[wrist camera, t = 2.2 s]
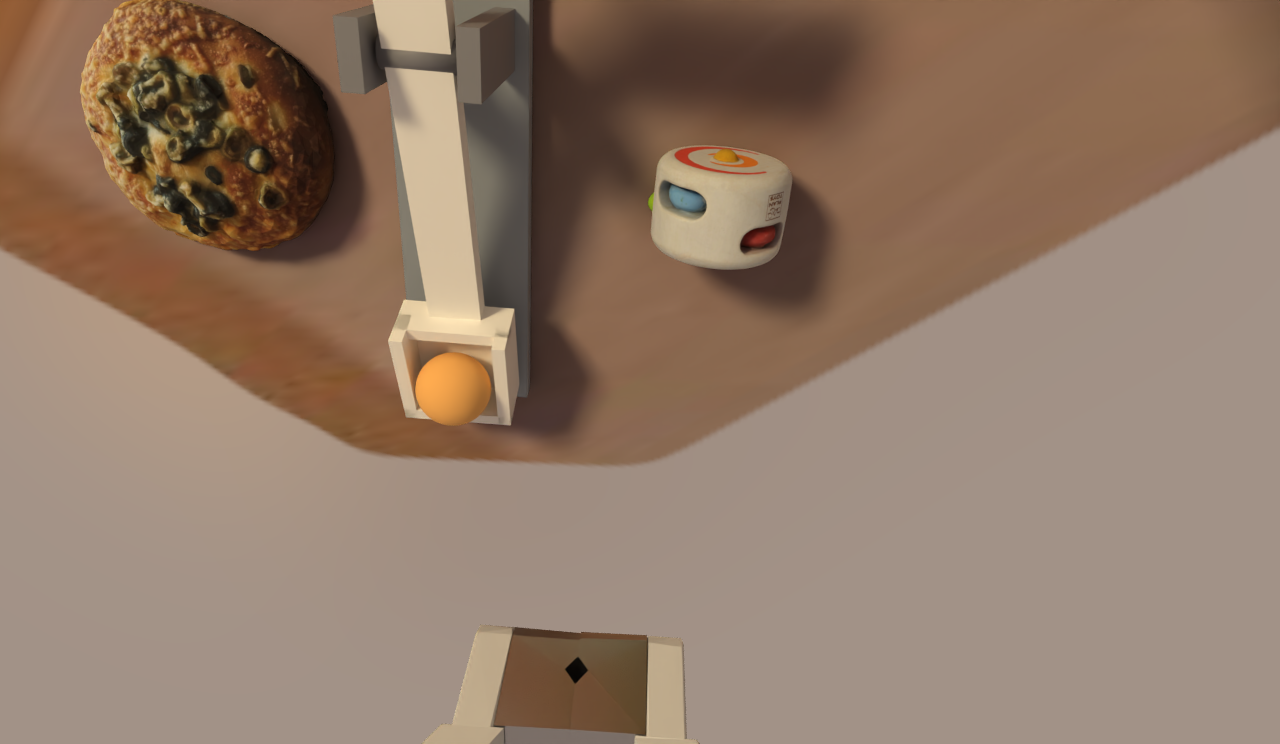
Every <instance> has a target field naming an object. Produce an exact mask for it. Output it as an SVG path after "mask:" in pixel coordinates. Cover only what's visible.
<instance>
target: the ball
mask: <svg viewBox="0 0 1280 744" xmlns="http://www.w3.org/2000/svg"><path fill="white" fill-rule="evenodd" d="M415 391H416V398H417V401H418V404H419V406H420V408H421V409H422V410H423V412H424V413H425V414H426V415H427V416H428V417H429V418H431V419H432V420H434V421H435V422H438V423H440V424H443V425H449V426H458V425H463V424H466V423H469V422H471V421H473V420H474V419H476V418H477V417H478V416H479V415H480V414H481V413H482V412H483V411H484V410H485V408H486V406H487V405H488V402H489V400H490V395H491V382H490V378H489V375H488V373H487V371H486V370H485V368H484V367H483V365H482V364H481V363H480V362H479V361H477V360H476V359H475V358H473V357H471V356H469V355H467V354H463V353H458V352H449V353H443V354H440V355H438V356H436V357H434V358H432V359H431V360H430V361H428V362H427V363H426V364H425V365H424V367H423V368H422V369H421V371H420V373H419V375H418V377H417V381H416V387H415Z"/></svg>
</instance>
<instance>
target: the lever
mask: <svg viewBox="0 0 1280 744" xmlns="http://www.w3.org/2000/svg"><path fill="white" fill-rule="evenodd" d="M373 5H374V10H375V16H376V21H377V27H378V35H377V38H376V46H375V50H376V59H377V63H378V66H379V68H380V69H385V72H386V78H387V83H388V89H389V95H390V100H391V106H392V112H393V117H394V123H395V128H396V134H397V140H398V145H399V151H400V157H401V162H402V168H403V173H404V179H405V185H406V190H407V196H408V202H409V207H410V213H411V219H412V224H413V230H414V235H415V241H416V247H417V252H418V258H419V264H420V269H421V275H422V280H423V286H424V292H425V297H426V301H414V300H404V301H403V304H402V306H401V309H400V312H399V314H398V317H397V319H396V322H395V325H394V327H393V330H392V332H391V335H390V337H389V340H388V343H389V347H390V351H391V356H392V360H393V364H394V368H395V372H396V377H397V381H398V385H399V389H400V393H401V398H402V402H403V406H404V410H405V414H406V417H410V418H423V419H431V418H429V417H428V416H427V415H426V414H425V413H424V412H423V410H422V409H421V408H420V406H419V404H418V401H417V398H416V391H415V387H416V381H417V377H418V375H419V373H420V371H421V369H422V368H423V367H424V365H425V364H426V363H427V362H428V361H430V360H431V359H432V358H434V357H436V356H438V355H440V354H443V353H449V352H458V353H463V354H467V355H469V356H471V357H473V358H475V359H476V360H477V361H479V362H480V363H481V364H482V365H483V367H484V368H485V370H486V371H487V373H488V375H489V378H490V382H491V395H490V400H489V402H488V405H487V406H486V408H485V410H484V411H483V412H482V413H481V414H480V415H479V416H478V417H477V418H476V419H474V420H473V421H471V422H474V423H486V424H499V425H511V422H512V417H513V412H514V408H515V403H516V398H517V393H518V388H519V371H518V356H517V341H516V326H515V311H514V309H512V308H500V307H487V306H485V304H484V295H483V285H482V275H481V266H480V256H479V247H478V237H477V227H476V218H475V208H474V199H473V189H472V180H471V170H470V160H469V151H468V141H467V132H466V122H465V113H464V103H460V102H458V84H457V58H456V33H455V17H454V7H453V0H373Z"/></svg>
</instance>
